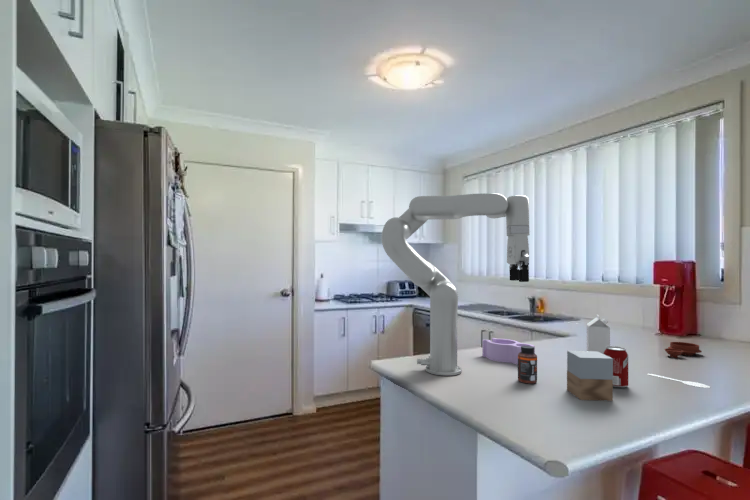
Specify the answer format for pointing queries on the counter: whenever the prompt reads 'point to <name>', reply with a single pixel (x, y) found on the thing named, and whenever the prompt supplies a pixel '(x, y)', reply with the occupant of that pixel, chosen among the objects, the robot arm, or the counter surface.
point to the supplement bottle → (527, 365)
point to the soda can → (618, 365)
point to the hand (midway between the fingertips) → (519, 281)
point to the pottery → (682, 349)
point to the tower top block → (590, 365)
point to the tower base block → (590, 388)
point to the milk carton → (598, 335)
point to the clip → (502, 350)
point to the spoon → (684, 381)
